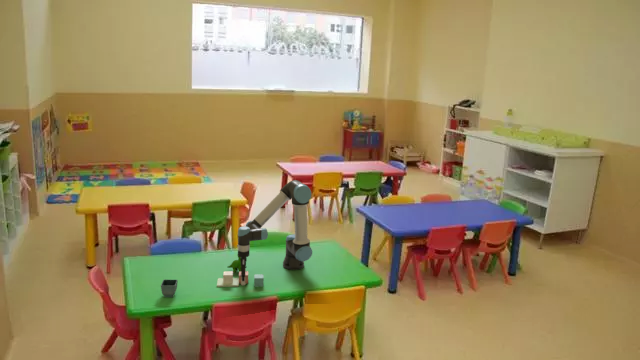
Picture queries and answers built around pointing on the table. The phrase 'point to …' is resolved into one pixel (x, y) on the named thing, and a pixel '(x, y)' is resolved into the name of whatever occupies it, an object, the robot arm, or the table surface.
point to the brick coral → (245, 277)
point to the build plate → (235, 283)
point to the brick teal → (258, 280)
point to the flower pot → (169, 287)
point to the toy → (236, 265)
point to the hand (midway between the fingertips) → (243, 281)
